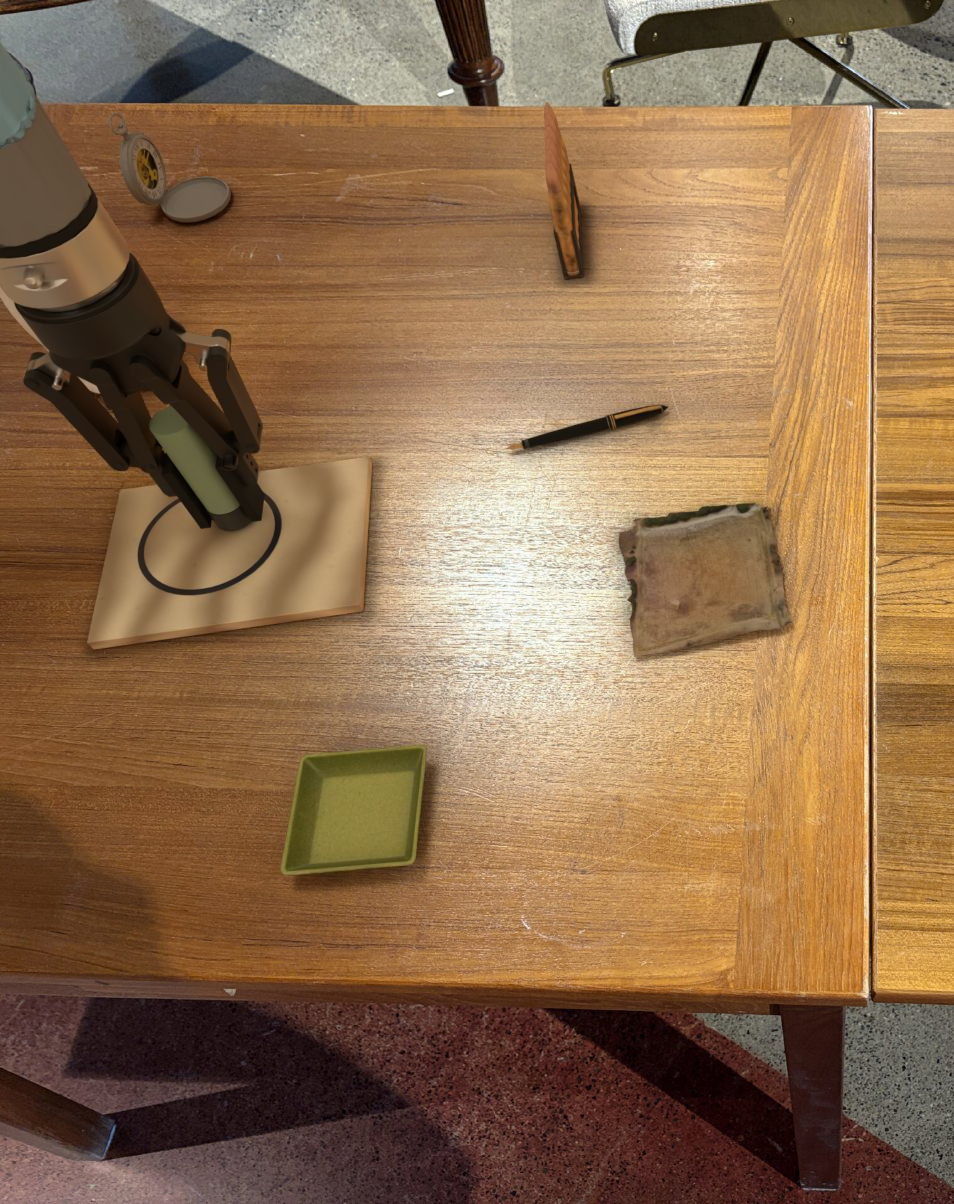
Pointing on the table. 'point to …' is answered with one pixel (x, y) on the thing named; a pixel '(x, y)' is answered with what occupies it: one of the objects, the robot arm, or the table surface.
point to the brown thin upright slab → (563, 199)
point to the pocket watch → (182, 199)
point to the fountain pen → (592, 426)
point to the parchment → (702, 577)
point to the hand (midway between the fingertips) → (232, 511)
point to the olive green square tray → (355, 810)
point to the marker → (198, 468)
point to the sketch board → (236, 559)
